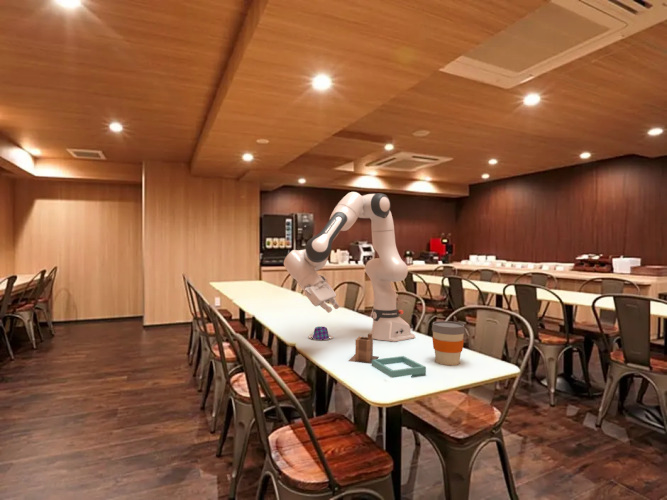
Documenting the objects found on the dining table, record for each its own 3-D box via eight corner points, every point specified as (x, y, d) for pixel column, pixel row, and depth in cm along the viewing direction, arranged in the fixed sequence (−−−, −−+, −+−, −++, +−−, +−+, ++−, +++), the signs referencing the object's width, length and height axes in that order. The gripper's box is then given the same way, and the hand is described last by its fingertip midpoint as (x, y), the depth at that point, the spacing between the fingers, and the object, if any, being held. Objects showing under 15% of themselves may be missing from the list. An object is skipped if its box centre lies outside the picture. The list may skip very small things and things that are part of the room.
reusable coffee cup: (424, 358, 157) (425, 322, 157) (449, 355, 162) (450, 320, 162) (445, 368, 146) (446, 328, 145) (471, 364, 151) (472, 326, 150)
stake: (355, 356, 159) (355, 341, 159) (379, 359, 156) (379, 344, 156) (348, 363, 149) (348, 348, 149) (373, 366, 146) (374, 350, 146)
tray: (403, 363, 150) (403, 356, 150) (425, 375, 137) (425, 366, 137) (371, 367, 145) (371, 359, 145) (391, 380, 132) (392, 371, 132)
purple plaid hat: (325, 334, 197) (325, 324, 197) (337, 339, 187) (337, 328, 187) (304, 336, 191) (304, 326, 191) (315, 342, 181) (315, 331, 181)
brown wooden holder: (358, 356, 156) (359, 331, 156) (372, 357, 154) (373, 332, 154) (355, 360, 151) (355, 334, 150) (369, 361, 149) (369, 335, 149)
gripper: (307, 280, 148) (331, 308, 145) (325, 277, 168) (346, 301, 165) (296, 291, 150) (319, 319, 147) (315, 286, 169) (336, 311, 166)
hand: (334, 309), depth 156 cm, fingers open, 8 cm apart
